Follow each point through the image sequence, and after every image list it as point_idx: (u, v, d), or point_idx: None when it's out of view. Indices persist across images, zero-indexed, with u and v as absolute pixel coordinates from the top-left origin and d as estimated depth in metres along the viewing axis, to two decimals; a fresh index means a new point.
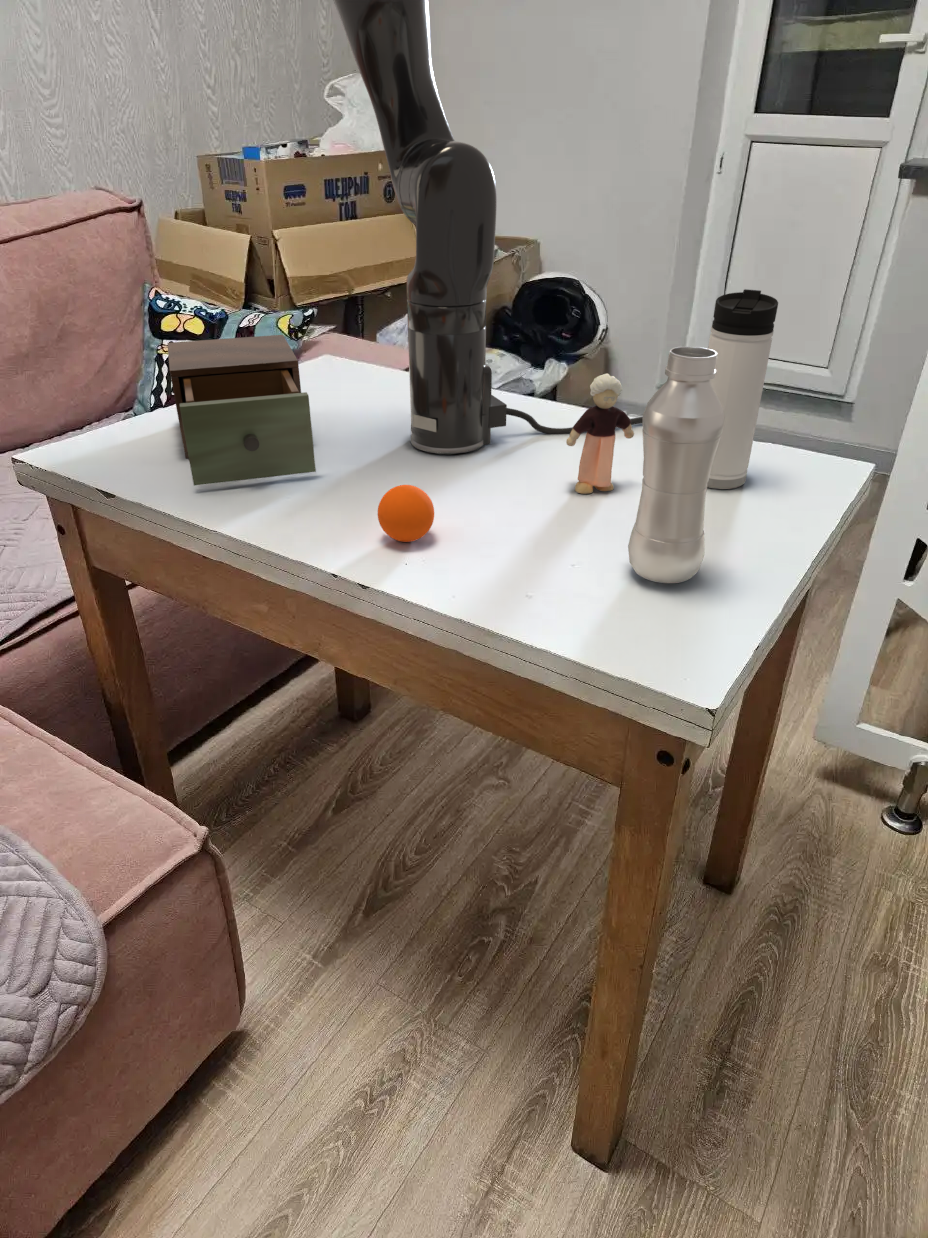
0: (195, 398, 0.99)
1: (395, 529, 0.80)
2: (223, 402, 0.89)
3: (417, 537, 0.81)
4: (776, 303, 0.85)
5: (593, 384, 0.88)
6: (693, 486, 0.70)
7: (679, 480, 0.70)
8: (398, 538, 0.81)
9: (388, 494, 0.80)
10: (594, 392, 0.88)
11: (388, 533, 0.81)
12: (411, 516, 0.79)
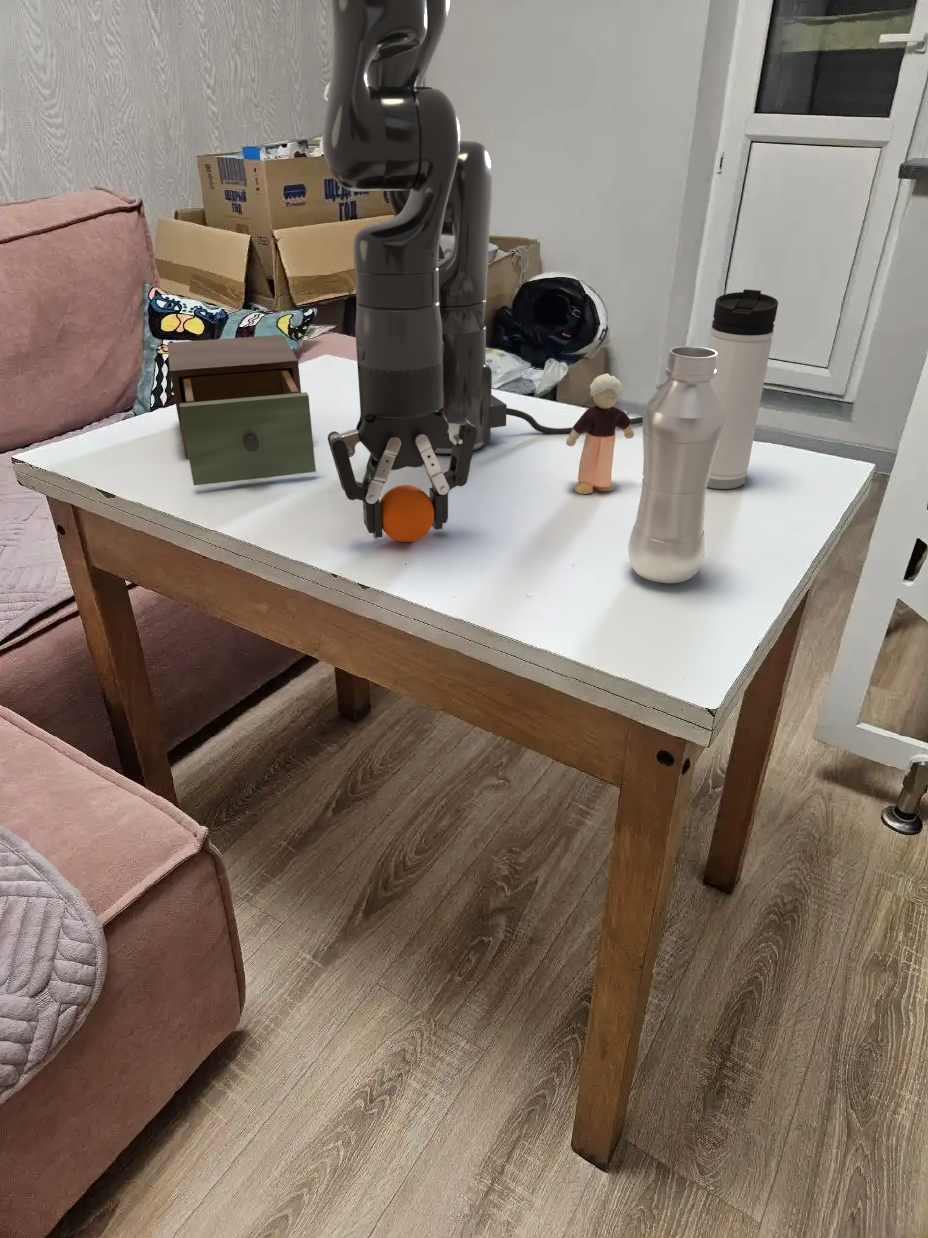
0: (195, 398, 0.99)
1: (395, 529, 0.80)
2: (223, 402, 0.89)
3: (417, 537, 0.81)
4: (776, 303, 0.85)
5: (593, 384, 0.88)
6: (693, 486, 0.70)
7: (679, 480, 0.70)
8: (398, 538, 0.81)
9: (388, 494, 0.80)
10: (594, 392, 0.88)
11: (388, 533, 0.81)
12: (411, 516, 0.79)
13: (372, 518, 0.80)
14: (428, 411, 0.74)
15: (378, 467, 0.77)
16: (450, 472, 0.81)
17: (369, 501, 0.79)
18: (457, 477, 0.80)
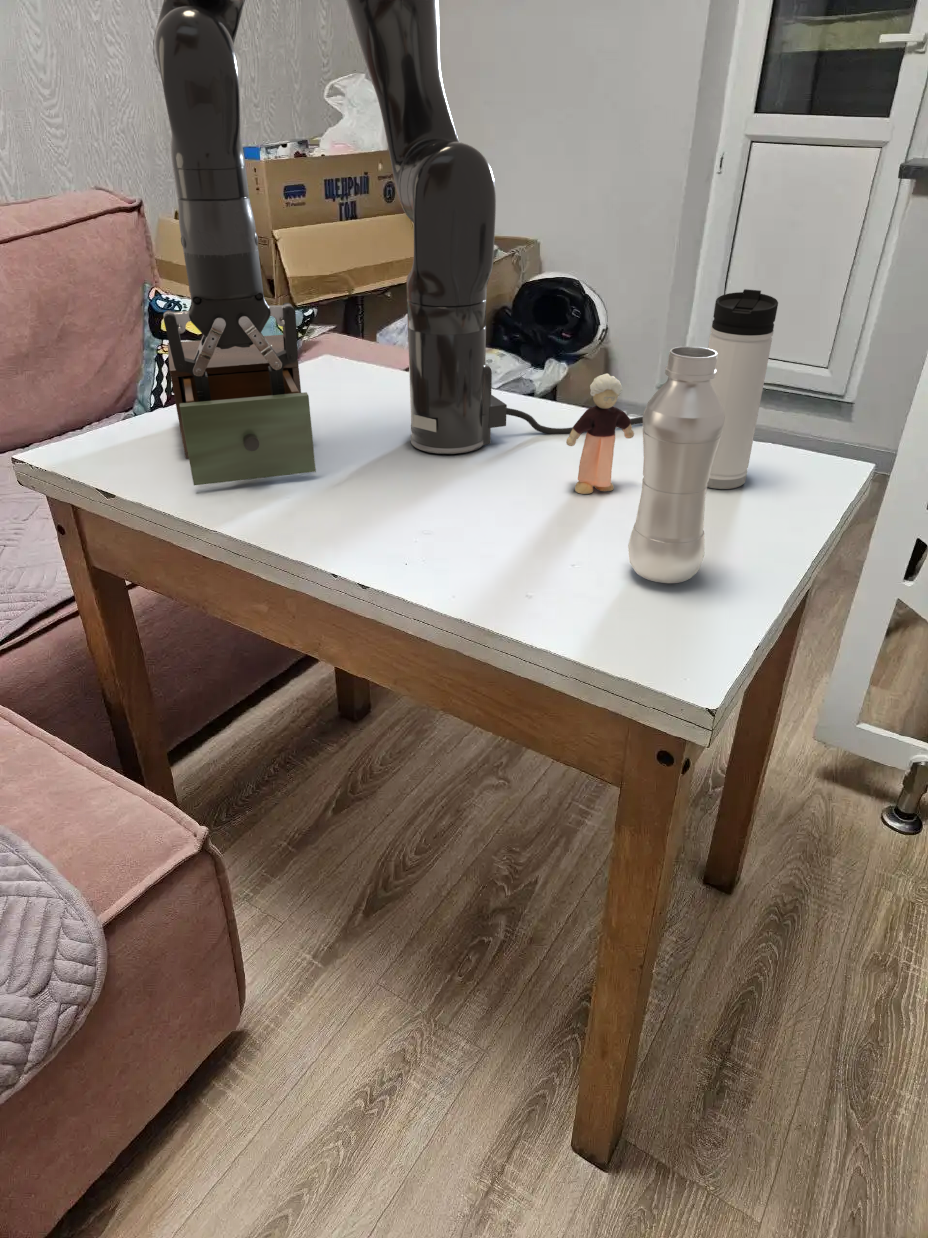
0: (195, 398, 0.99)
1: None
2: (223, 402, 0.89)
3: None
4: (776, 303, 0.85)
5: (593, 384, 0.88)
6: (693, 486, 0.70)
7: (679, 480, 0.70)
8: None
9: None
10: (594, 392, 0.88)
11: None
12: None
13: (202, 390, 0.93)
14: (244, 293, 0.87)
15: (205, 343, 0.90)
16: (284, 351, 0.94)
17: (196, 374, 0.91)
18: (288, 354, 0.93)
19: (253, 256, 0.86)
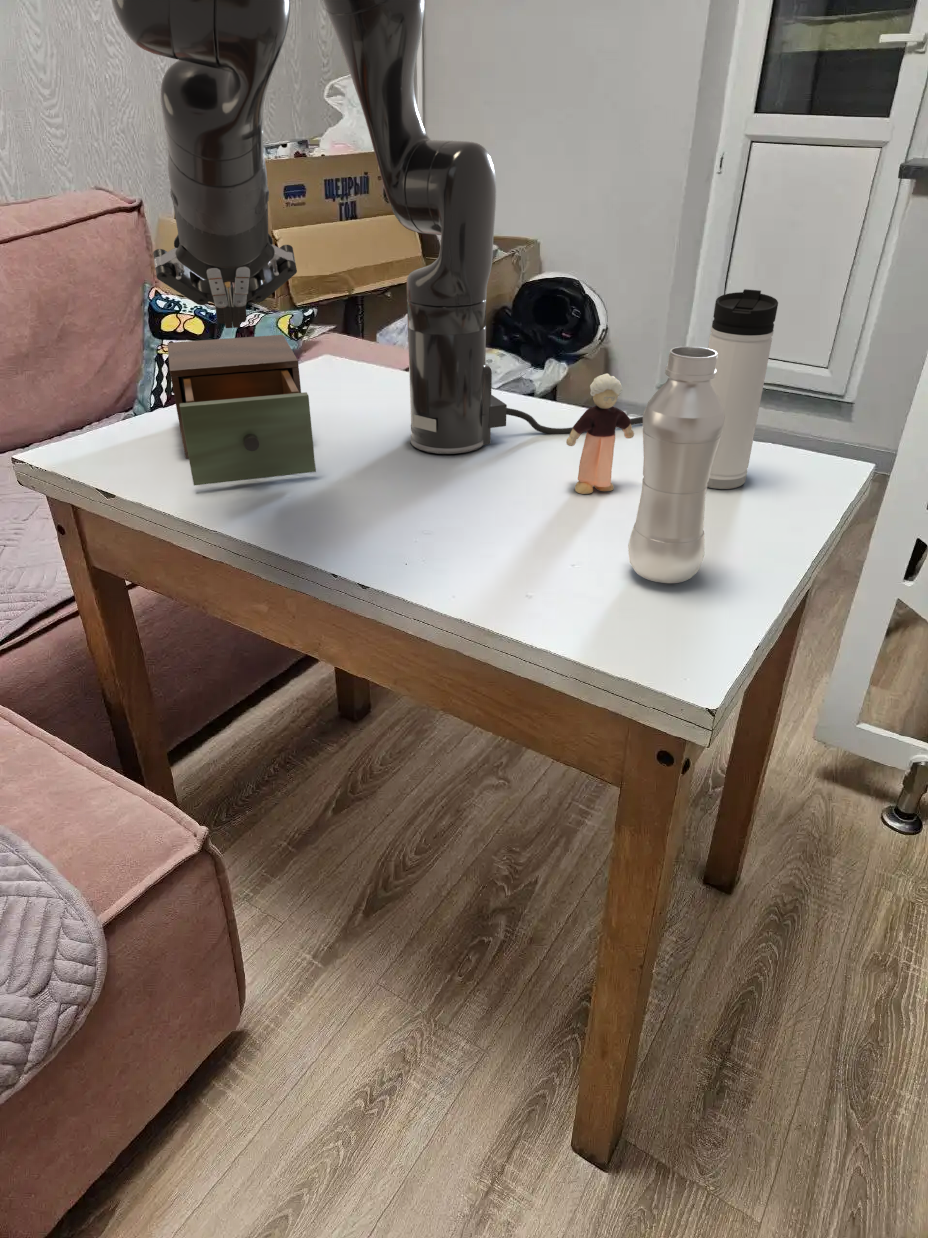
0: (195, 398, 0.99)
1: None
2: (223, 402, 0.89)
3: None
4: (776, 303, 0.85)
5: (593, 384, 0.88)
6: (693, 486, 0.70)
7: (679, 480, 0.70)
8: None
9: None
10: (594, 392, 0.88)
11: None
12: None
13: (222, 314, 0.82)
14: (247, 261, 0.72)
15: (211, 288, 0.77)
16: (249, 283, 0.80)
17: (219, 306, 0.80)
18: (254, 295, 0.80)
19: (262, 222, 0.69)
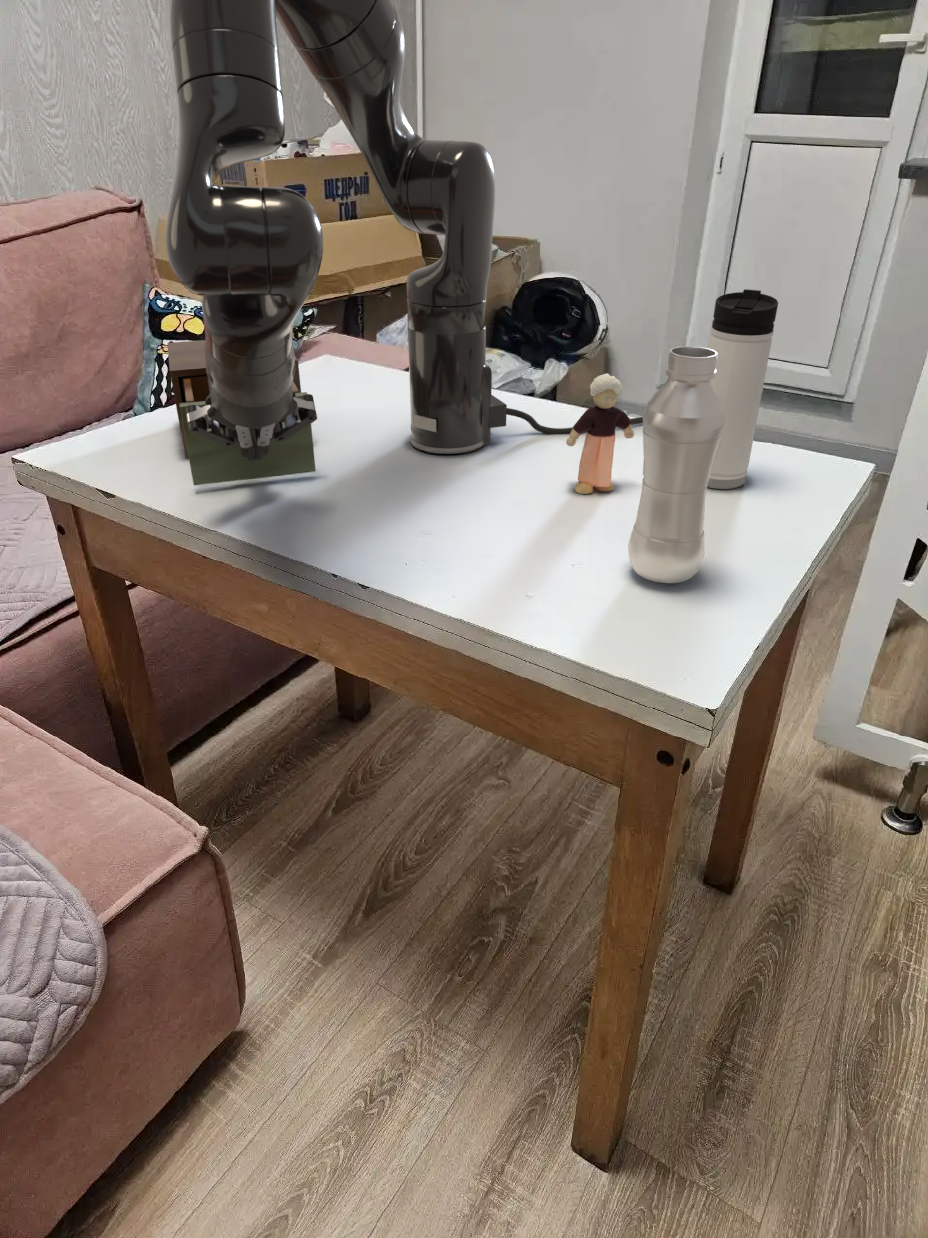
0: (195, 398, 0.99)
1: None
2: None
3: None
4: (776, 303, 0.85)
5: (593, 384, 0.88)
6: (693, 486, 0.70)
7: (679, 480, 0.70)
8: None
9: None
10: (594, 392, 0.88)
11: None
12: None
13: (246, 450, 0.88)
14: (274, 422, 0.78)
15: (238, 436, 0.83)
16: None
17: (244, 447, 0.86)
18: (277, 437, 0.86)
19: (288, 391, 0.76)
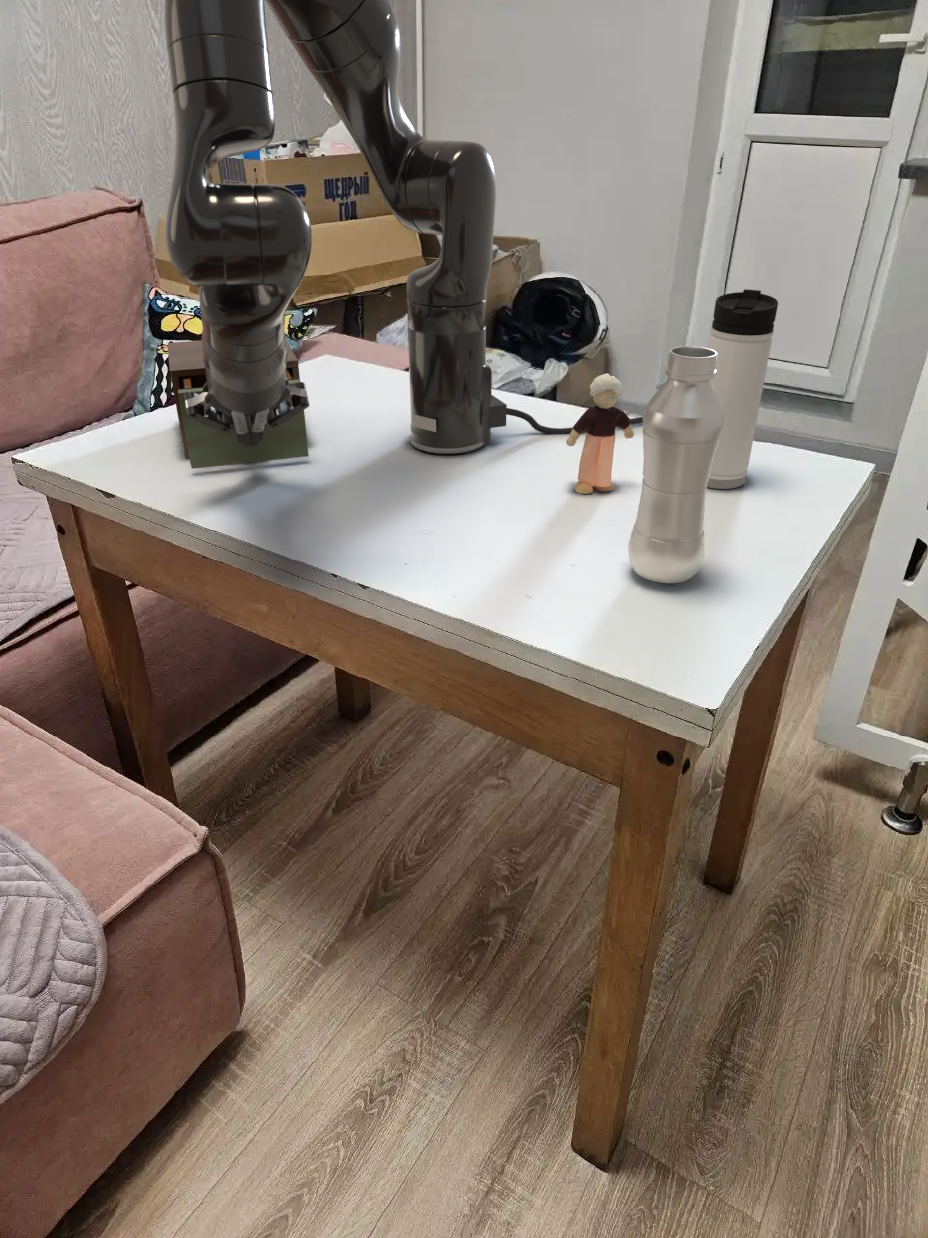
0: (193, 386, 1.03)
1: None
2: None
3: None
4: (776, 303, 0.85)
5: (593, 384, 0.88)
6: (693, 486, 0.70)
7: (679, 480, 0.70)
8: None
9: None
10: (594, 392, 0.88)
11: None
12: None
13: (242, 436, 0.93)
14: (268, 407, 0.82)
15: (234, 422, 0.87)
16: None
17: (240, 432, 0.91)
18: (271, 423, 0.90)
19: (281, 378, 0.80)
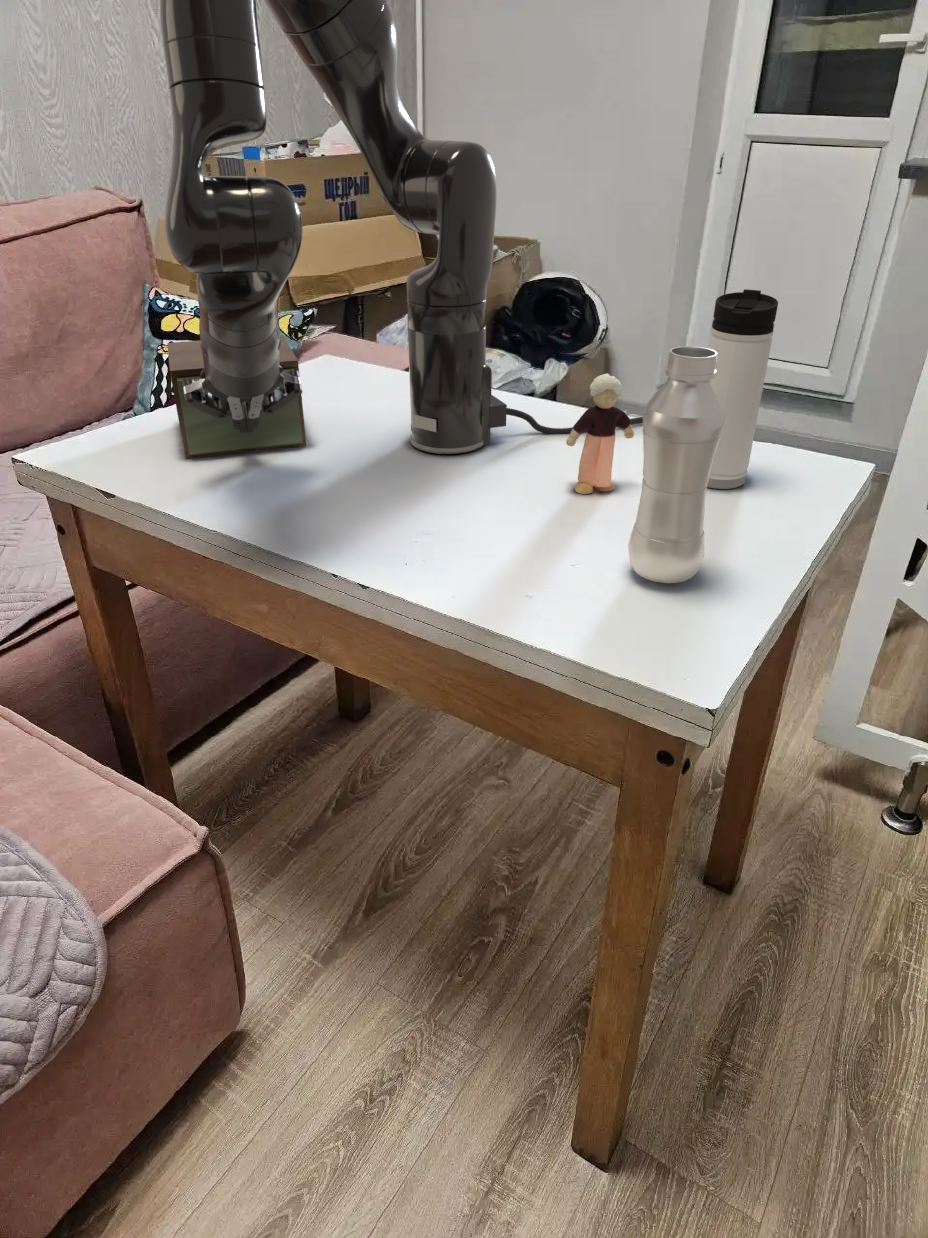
0: None
1: None
2: None
3: None
4: (776, 303, 0.85)
5: (593, 384, 0.88)
6: (693, 486, 0.70)
7: (679, 480, 0.70)
8: None
9: None
10: (594, 392, 0.88)
11: None
12: None
13: (238, 423, 0.97)
14: (262, 393, 0.86)
15: (230, 408, 0.91)
16: (261, 400, 0.94)
17: (235, 419, 0.95)
18: (266, 410, 0.94)
19: (275, 364, 0.84)
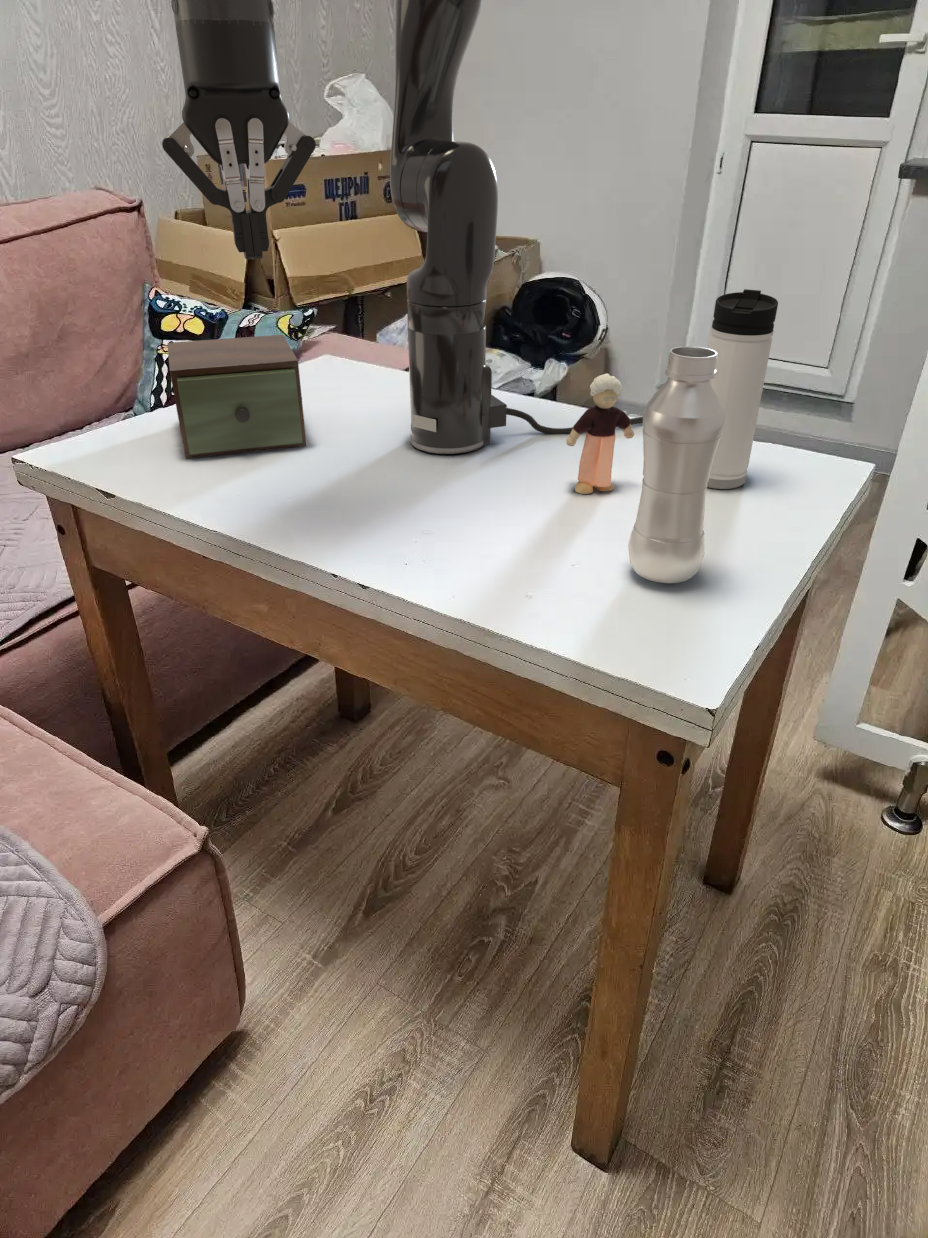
0: None
1: None
2: (216, 377, 0.97)
3: None
4: (776, 303, 0.85)
5: (593, 384, 0.88)
6: (693, 486, 0.70)
7: (679, 480, 0.70)
8: None
9: None
10: (594, 392, 0.88)
11: None
12: None
13: (241, 233, 0.73)
14: (256, 80, 0.65)
15: (223, 163, 0.69)
16: (268, 188, 0.72)
17: (235, 208, 0.71)
18: (273, 190, 0.72)
19: (268, 30, 0.65)
